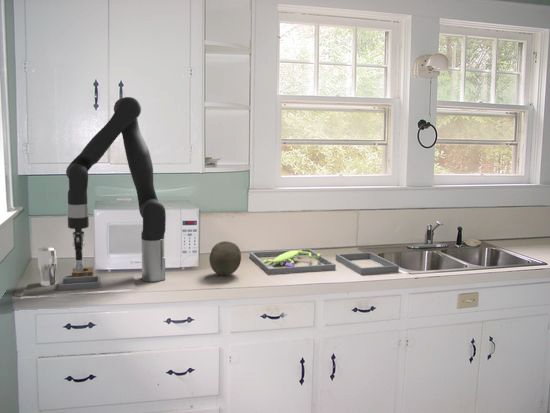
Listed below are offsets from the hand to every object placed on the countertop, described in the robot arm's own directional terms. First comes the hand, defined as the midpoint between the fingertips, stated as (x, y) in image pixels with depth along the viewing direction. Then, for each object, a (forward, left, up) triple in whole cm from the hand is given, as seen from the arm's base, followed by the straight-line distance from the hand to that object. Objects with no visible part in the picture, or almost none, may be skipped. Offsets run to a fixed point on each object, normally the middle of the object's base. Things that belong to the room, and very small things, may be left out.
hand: (79, 258), depth 204 cm
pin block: (-1, -12, -12) cm, 16 cm away
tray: (0, 0, -12) cm, 12 cm away
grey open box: (-94, -17, -12) cm, 96 cm away
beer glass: (+12, -5, -12) cm, 18 cm away
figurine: (-95, -17, -12) cm, 97 cm away
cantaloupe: (-59, -3, -12) cm, 60 cm away
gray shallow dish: (-127, -4, -12) cm, 127 cm away
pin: (0, 0, -5) cm, 5 cm away
